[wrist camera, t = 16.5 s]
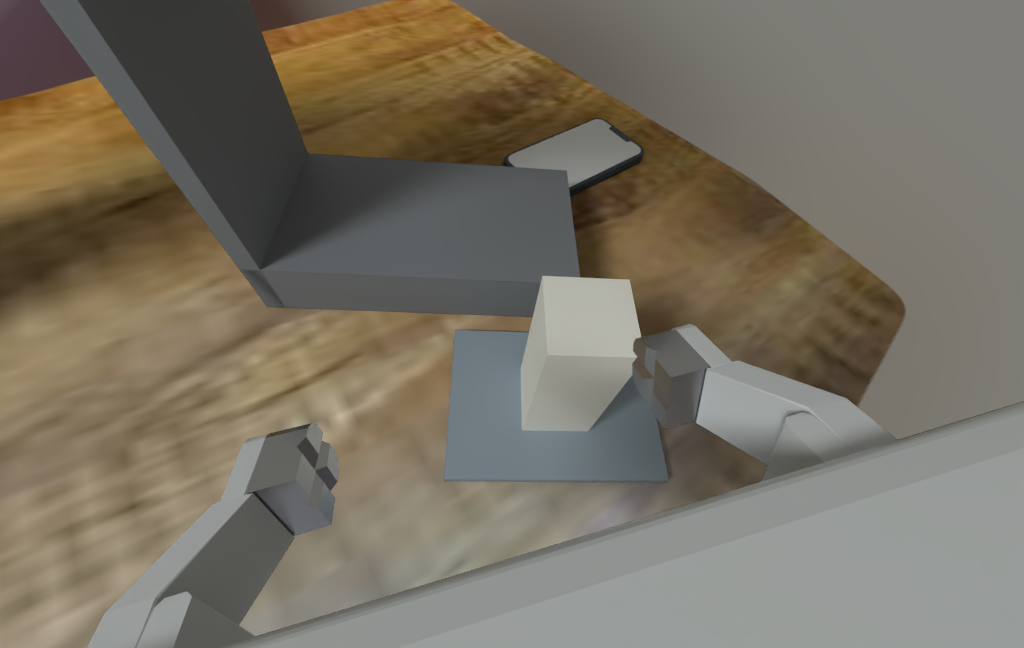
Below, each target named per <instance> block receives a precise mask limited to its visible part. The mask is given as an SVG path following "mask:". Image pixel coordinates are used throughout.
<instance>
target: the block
mask: <svg viewBox="0 0 1024 648" xmlns="http://www.w3.org/2000/svg"><path fill="white" fill-rule="evenodd" d="M640 337H641V333H640V328H639V324H638V319H637V314H636V309H635V304H634V299H633V295H632V290H631V285H630V280H624V279H602V278H580V277H559V276H542V280H541V284H540V288H539V293H538V297H537V301H536V305H535V310H534V314H533V318H532V323H531V327H530V331H529V335H528V340H527V344H526V348H525V352H524V357H523V361H522V365H521V369H520V370H521V412H522V430H531V431H589V430H590V428H591V427H592V426H593V424H594V423H595V422H596V421H597V419H598V418H599V417H600V416H601V414H602V413H603V412H604V410H605V409H606V408H607V407H608V405H609V404H610V403H611V402H612V400H613V399H614V398H615V396H616V395H617V394H618V393H619V391H620V390H621V389H622V387H623V386H624V385H625V384H626V382H627V381H628V380H629V379H630V377H631V376H632V375H633V374H632V363H633V362H634V361H635V359H636V358H637V356H636V354H635V353H634V352H633V343H634V341H635V339H636V338H640Z"/></svg>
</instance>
